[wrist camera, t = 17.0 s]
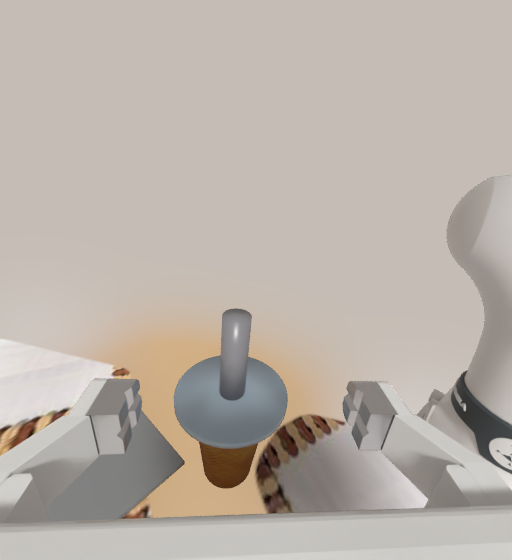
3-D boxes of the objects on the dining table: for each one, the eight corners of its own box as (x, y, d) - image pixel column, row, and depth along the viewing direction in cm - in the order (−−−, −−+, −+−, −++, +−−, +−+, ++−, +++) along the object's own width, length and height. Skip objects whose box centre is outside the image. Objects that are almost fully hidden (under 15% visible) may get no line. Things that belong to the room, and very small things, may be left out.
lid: (232, 347, 40) (236, 281, 36) (307, 396, 32) (323, 319, 28) (151, 395, 30) (144, 312, 26) (230, 479, 23) (238, 381, 19)
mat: (127, 396, 44) (127, 394, 44) (184, 463, 35) (184, 461, 35) (-1, 467, 33) (-3, 464, 33) (32, 595, 24) (31, 592, 23)
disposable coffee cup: (256, 428, 41) (264, 366, 36) (268, 499, 32) (280, 428, 28) (193, 433, 39) (193, 369, 35) (187, 508, 31) (186, 435, 26)
